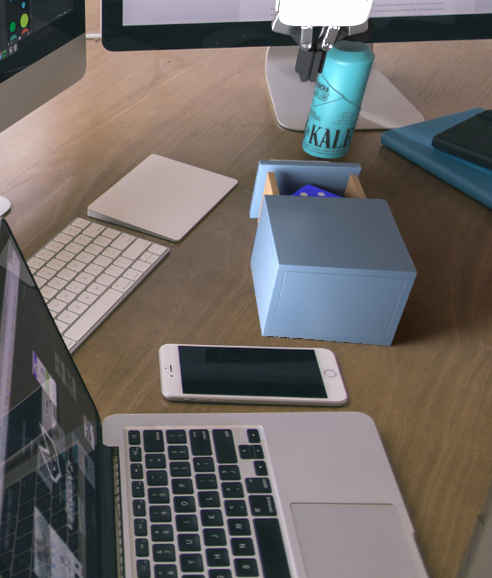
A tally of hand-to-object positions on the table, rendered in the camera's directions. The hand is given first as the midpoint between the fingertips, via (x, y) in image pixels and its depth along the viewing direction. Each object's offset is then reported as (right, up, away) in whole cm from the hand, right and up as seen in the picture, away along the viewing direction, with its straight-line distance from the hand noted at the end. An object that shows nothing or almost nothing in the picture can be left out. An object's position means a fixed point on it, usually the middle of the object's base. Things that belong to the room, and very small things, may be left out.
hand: (306, 77), depth 98 cm
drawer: (-1, -20, -1) cm, 20 cm away
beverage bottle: (+9, -8, +14) cm, 19 cm away
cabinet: (-4, -28, -10) cm, 30 cm away
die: (-2, -20, -3) cm, 21 cm away
